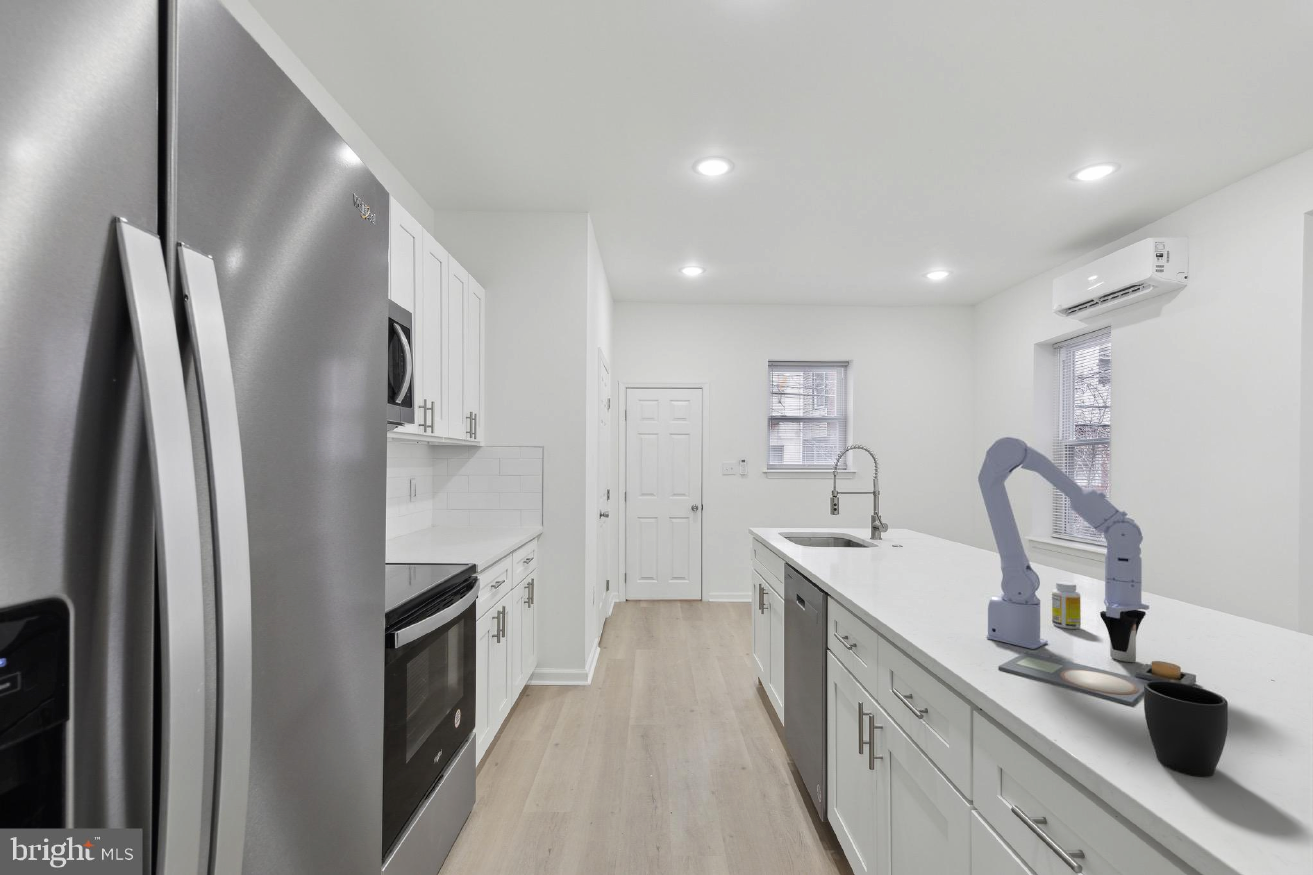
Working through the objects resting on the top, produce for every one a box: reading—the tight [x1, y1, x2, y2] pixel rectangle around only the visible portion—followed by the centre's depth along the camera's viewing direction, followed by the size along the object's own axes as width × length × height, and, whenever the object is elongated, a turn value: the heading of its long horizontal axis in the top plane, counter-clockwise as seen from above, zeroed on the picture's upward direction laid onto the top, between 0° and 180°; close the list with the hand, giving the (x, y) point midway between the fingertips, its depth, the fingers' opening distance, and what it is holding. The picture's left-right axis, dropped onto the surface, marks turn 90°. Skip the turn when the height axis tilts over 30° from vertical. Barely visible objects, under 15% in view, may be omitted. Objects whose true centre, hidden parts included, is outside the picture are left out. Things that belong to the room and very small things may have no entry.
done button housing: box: [1135, 663, 1197, 686], centre depth 107 cm, size 7×7×2 cm
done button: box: [1150, 660, 1182, 679], centre depth 107 cm, size 4×4×2 cm
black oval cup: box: [1143, 680, 1229, 778], centre depth 79 cm, size 8×12×10 cm
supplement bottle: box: [1051, 580, 1082, 630], centre depth 141 cm, size 6×6×10 cm
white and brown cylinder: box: [1109, 624, 1137, 663], centre depth 118 cm, size 4×4×7 cm
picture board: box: [997, 651, 1149, 707], centre depth 109 cm, size 20×14×1 cm
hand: (1123, 648), depth 118 cm, fingers closed on white and brown cylinder, 4 cm apart
